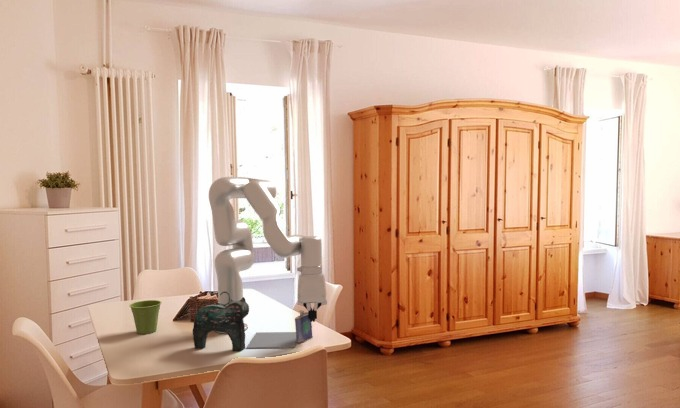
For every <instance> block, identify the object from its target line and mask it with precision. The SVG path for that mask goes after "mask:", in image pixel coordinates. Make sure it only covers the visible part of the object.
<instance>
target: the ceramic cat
mask: <svg viewBox="0 0 680 408" xmlns="http://www.w3.org/2000/svg"><path fill="white" fill-rule="evenodd" d="M222 293H227V294H228V295H229V293H228V292H226V291H225V292H222ZM222 293H221V294H222ZM221 294H220V296H221ZM229 302H230V295H229ZM229 302H228V303H227V304H228V305H227V304H220V303H218V302H217V301H214V300H206V301H203V302H202V303H200V305H198V308H197V312H196V314H195V316H194V320H193V328H192V336H193V338H192V339H193V346H194V349H196V350H203V349H205V348H206V346H207V345H206V343H207V338H208V334H209V333H211V332H216V331H218V332H224V333H223V334H226V333H227V335H228V337H229V339H230V341H231V345H232V346H231V347H232V352H242V351H244V350H245V349H246V332H245V331H246V330H245V329H244V323H245V322H243V318H245V317H247V316H248V314H249V312H250V306H249V304H248V302H246V299H245V297H244V296H243V298H242V299H241V300H239V301H234V300H233V299H231V302H230V303H229ZM206 303H214V304H207V305H205V306H203V307H202V305H204V304H206ZM244 330H245V331H244ZM218 332H217V333H218Z"/></svg>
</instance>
